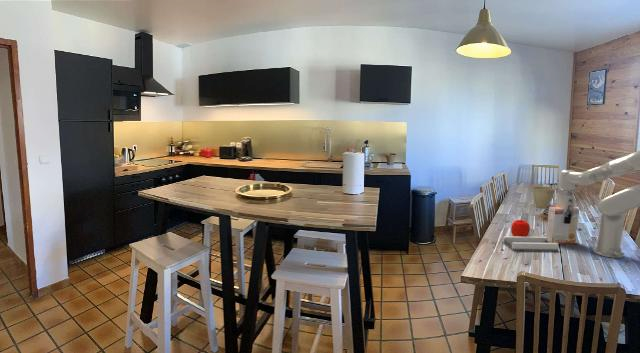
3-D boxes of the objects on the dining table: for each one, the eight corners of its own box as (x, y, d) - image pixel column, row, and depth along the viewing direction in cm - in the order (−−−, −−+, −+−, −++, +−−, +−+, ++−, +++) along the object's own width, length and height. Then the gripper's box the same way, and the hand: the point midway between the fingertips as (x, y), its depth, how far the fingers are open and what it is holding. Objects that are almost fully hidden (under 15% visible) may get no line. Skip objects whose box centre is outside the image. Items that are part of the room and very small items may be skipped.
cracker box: (568, 240, 209) (572, 205, 206) (575, 244, 203) (580, 208, 200) (544, 240, 209) (548, 206, 205) (551, 244, 203) (555, 208, 199)
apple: (531, 243, 205) (533, 222, 203) (513, 241, 207) (515, 221, 205) (525, 237, 214) (527, 218, 212) (507, 236, 216) (509, 217, 214)
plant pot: (532, 208, 283) (534, 189, 281) (529, 204, 297) (531, 185, 294) (554, 210, 277) (556, 190, 275) (550, 206, 291) (552, 187, 288)
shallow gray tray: (558, 251, 192) (558, 244, 192) (513, 250, 193) (513, 243, 192) (544, 243, 204) (545, 236, 204) (502, 242, 205) (503, 236, 204)
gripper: (583, 195, 193) (578, 225, 196) (562, 188, 210) (558, 216, 213) (569, 195, 193) (564, 225, 196) (549, 188, 210) (545, 216, 213)
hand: (561, 220), depth 204 cm, fingers open, 9 cm apart
